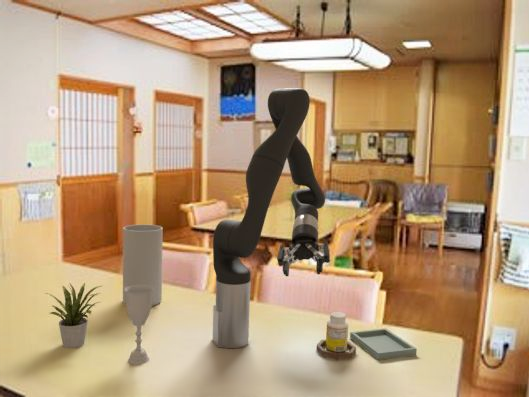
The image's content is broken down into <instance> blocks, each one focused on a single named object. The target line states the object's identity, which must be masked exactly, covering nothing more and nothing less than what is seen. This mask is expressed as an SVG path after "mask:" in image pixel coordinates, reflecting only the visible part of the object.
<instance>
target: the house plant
mask: <svg viewBox="0 0 529 397" xmlns="http://www.w3.org/2000/svg"><path fill="white" fill-rule="evenodd" d="M85 286H86V283H85V282H84V283H83V284H82V285H81V286H80V289H79V292H78V293H76V289H75V287H74V286H73V285H72V284H71V283H69V288H70V291H69V290H68V289H67V287H66V286H64V285H62V290H63V295H64V300H65V302H64V303H63V302H62V301H61V300H60V299H58V298H57V297H56V296H55V295H52V294H50V293H48V292H45V294H46V295H49V296H51V297H53V298H54V299H55V300H56V302H57V303H59V304H60V306H61V307H62V308H63V310H62V309H61V308H59V307H58V306H56V305H53V304H52V305H51V307H52V308H54V309H55V310H56V311H57V312H56V311H51V312H49V314H50V315H55V316H57V317H59V318H61V320H60V321H58V327H59V331H60V333H59V334H60V337H61V343H62V347H64V348H65V349H77V348H81V347H83V346H84V345H85V340H86V336H87V335H86V334H87V328H88V322H89V318H88V315H87V314H89V315H90V316H91V315H92V312H93V311H92V310H90V309H91V308H93V306H94V307H96V304H98V303H100V301H97V302H94V303H93V304H91V303H89V302H90V301H91V300H92V298H93V297H96V296H97V295H99V294H101V293H100V292H99V293H98V292H96V293H93V294H91V293H92V292H93V291H95V290H96V289H99V288H101V287H102V285H100V286H99V285H98V286H95V287H93V288H92V289H90V290H89V291H88V292H87V293H86V294H85V295H84V292H85ZM83 295H84V297H83ZM82 298H83V299H82ZM86 300H87V301H86ZM84 303H85V304H84ZM86 308H87V309H86ZM85 309H86V311H84V310H85ZM64 311H65V312H64ZM83 311H84V312H83ZM82 345H83V346H82Z"/></svg>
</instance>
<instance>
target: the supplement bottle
mask: <svg viewBox="0 0 529 397" xmlns="http://www.w3.org/2000/svg"><path fill="white" fill-rule="evenodd" d="M346 315H347V314H345V313H344V312H341V311H333V312H331V313H330V315H329V319H327V321H326V337H325V340H326V346H325V350H326V351H330V352H335V353H344V352H347V351H348V349H347V341H348V335H349V334H348V333H349V323H348V321H347V320H346V318H347V316H346Z"/></svg>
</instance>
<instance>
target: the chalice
mask: <svg viewBox="0 0 529 397" xmlns="http://www.w3.org/2000/svg"><path fill="white" fill-rule="evenodd" d="M153 289H154V287H153V286H151V285H146V284H136V285H131V286H128V287H126V288H125V289H124V290H125V292H126V294H127V305H126V307H125V308H126V312H127V315H128V318H130V322H131V323H132V325H133V326H135V327H136V332H135V335H136V339H135V343H136V347H135V349H133V350H132V351H131V353H130V355H129V358H128V359H127V363H129V364H131V365H143V364H146V363H147V362H148V361H150V358H149V355H148V353H147V351H146V349H145V348H143V347H142V346H141V344H142V342H143V339H142V337H141V336H142V334H143V332H142V329H141V328H142V326H144V325H145V324H146V322H147V321H148V318H149V316H150V313H151V309H152V306H151V295H152V291H153Z"/></svg>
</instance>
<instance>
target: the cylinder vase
mask: <svg viewBox="0 0 529 397" xmlns="http://www.w3.org/2000/svg"><path fill="white" fill-rule="evenodd" d="M122 228H123V229H122V238H123V239H122V251H123V252H122V302H123V304H125V306H127V294H126V292H125V290H124V289H125V288H126V287H128V286H131V285H136V284H146V285H151V286H153V287H154V289H153V291H152V295H151V307H153V306H156V305H158V304H160V303H161V302H162V297H163V296H162V295H163V292H162V291H163V229H164V228H163V227H162V226H161V225H156V224H131V225H130V224H129V225H126V226H123V227H122Z"/></svg>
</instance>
